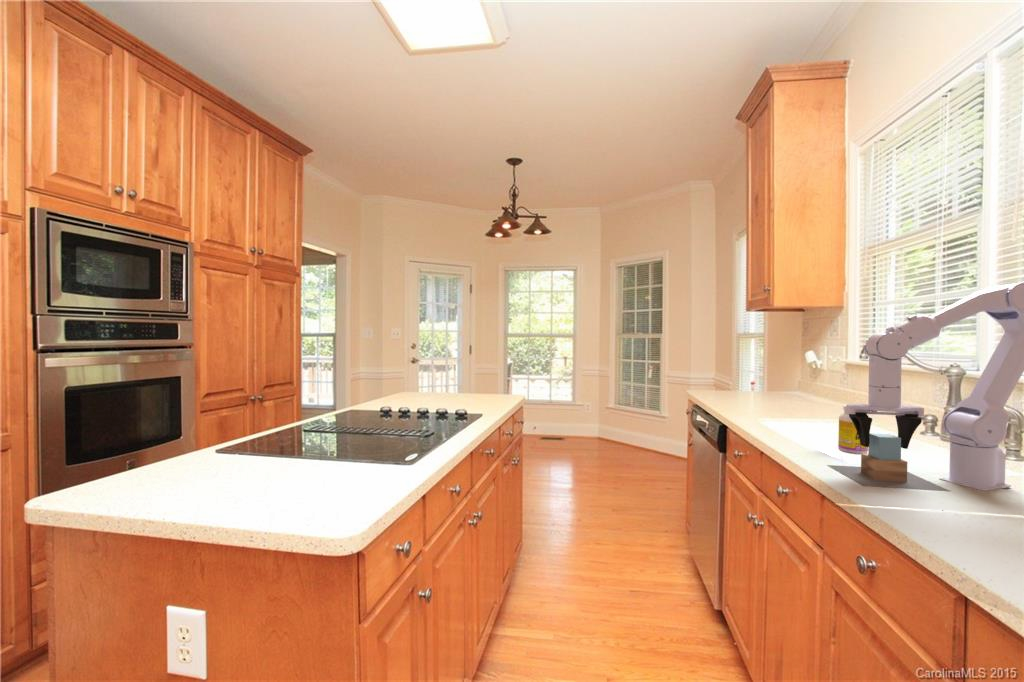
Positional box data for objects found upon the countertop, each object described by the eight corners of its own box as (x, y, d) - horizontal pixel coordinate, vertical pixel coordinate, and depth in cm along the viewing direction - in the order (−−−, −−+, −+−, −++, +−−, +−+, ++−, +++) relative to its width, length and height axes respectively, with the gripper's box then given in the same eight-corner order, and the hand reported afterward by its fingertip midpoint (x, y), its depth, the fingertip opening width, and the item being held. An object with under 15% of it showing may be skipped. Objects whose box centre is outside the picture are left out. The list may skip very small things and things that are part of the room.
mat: (826, 466, 114) (826, 465, 114) (901, 470, 111) (901, 468, 111) (863, 487, 98) (863, 485, 98) (950, 492, 95) (950, 491, 95)
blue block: (868, 454, 107) (868, 433, 106) (889, 455, 106) (889, 434, 106) (879, 459, 102) (879, 437, 102) (900, 460, 102) (901, 438, 102)
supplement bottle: (855, 456, 124) (856, 408, 124) (832, 450, 131) (833, 404, 130) (874, 454, 126) (875, 407, 126) (850, 448, 132) (851, 403, 132)
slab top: (861, 462, 108) (861, 453, 108) (890, 464, 107) (890, 454, 107) (876, 470, 102) (876, 460, 102) (907, 471, 101) (907, 461, 101)
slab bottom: (860, 472, 108) (861, 462, 108) (890, 473, 107) (890, 464, 107) (876, 480, 102) (876, 470, 102) (907, 481, 101) (907, 471, 101)
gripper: (858, 387, 102) (857, 449, 102) (934, 389, 99) (933, 452, 99) (841, 384, 109) (840, 442, 109) (912, 385, 106) (911, 445, 106)
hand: (883, 446), depth 104 cm, fingers open, 7 cm apart
